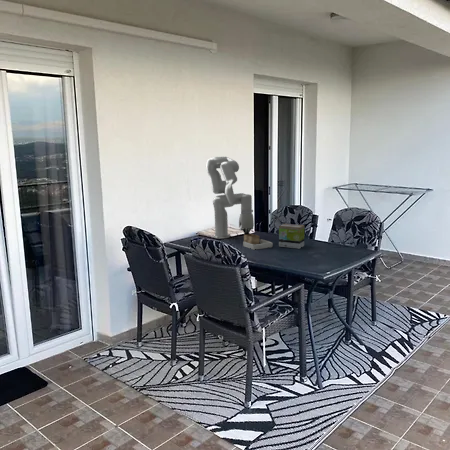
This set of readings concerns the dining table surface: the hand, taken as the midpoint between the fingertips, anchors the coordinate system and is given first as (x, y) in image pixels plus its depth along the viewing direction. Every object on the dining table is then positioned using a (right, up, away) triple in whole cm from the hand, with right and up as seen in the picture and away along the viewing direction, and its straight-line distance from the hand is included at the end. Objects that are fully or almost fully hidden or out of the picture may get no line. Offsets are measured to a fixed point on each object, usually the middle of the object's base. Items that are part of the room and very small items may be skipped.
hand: (246, 237), depth 331 cm
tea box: (+30, -6, -13) cm, 33 cm away
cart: (+3, -5, -5) cm, 8 cm away
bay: (+7, -6, -11) cm, 14 cm away
